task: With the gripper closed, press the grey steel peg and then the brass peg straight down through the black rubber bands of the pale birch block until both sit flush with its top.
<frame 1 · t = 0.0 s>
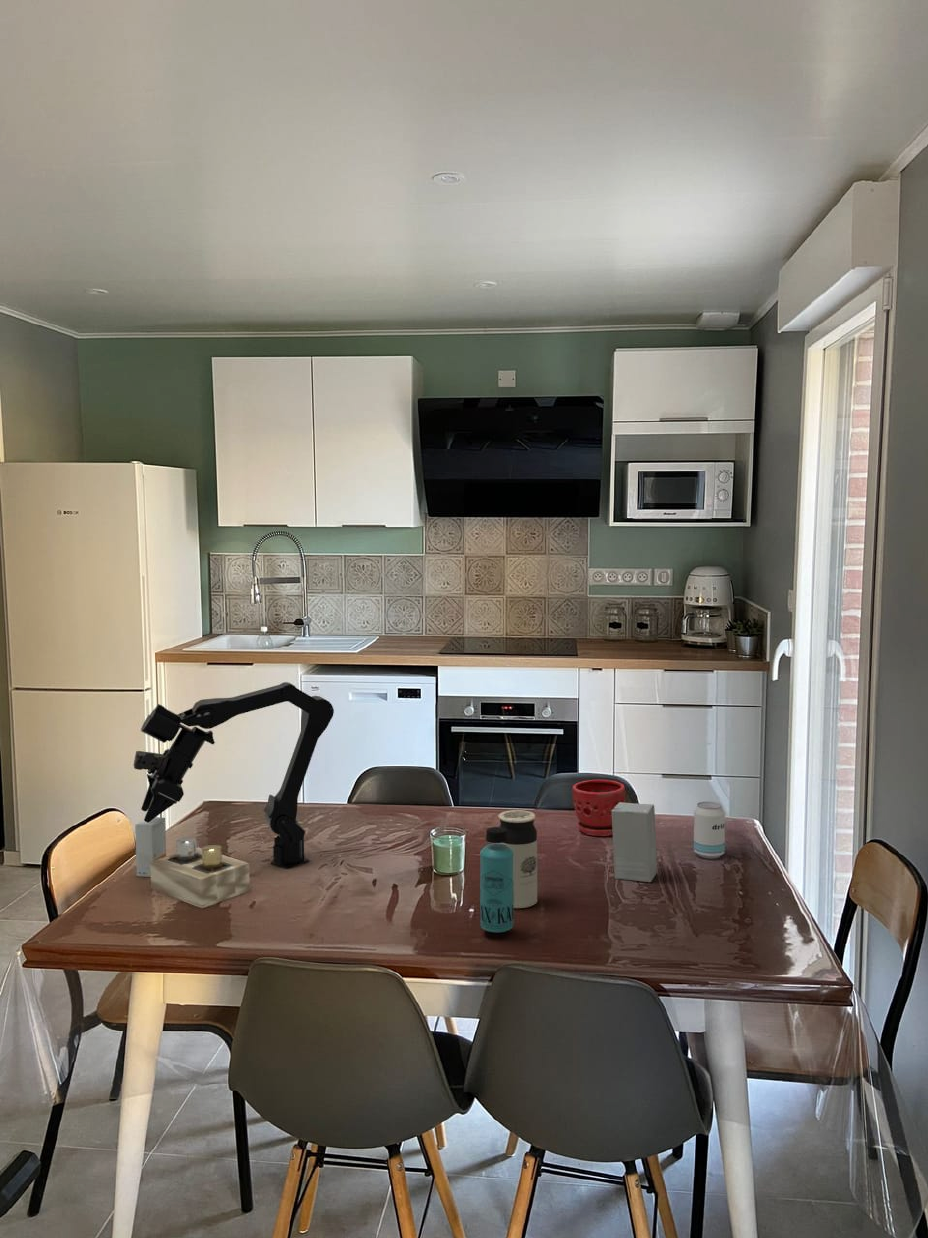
hand: (144, 816, 200), 15 cm above the table, tool tilted 35°, fingers open, 9 cm apart
beverage can: (709, 856, 215), on the table
travel mug: (517, 903, 188), on the table
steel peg: (186, 851, 199), point 7 cm above the table, slide at 4.0 cm
skincare box: (634, 878, 201), on the table
plant pot: (598, 832, 234), on the table
brass peg: (212, 859, 193), point 7 cm above the table, slide at 4.0 cm
beverage bottle: (497, 934, 172), on the table
collar block: (200, 890, 197), on the table
skincare box 2: (152, 873, 208), on the table
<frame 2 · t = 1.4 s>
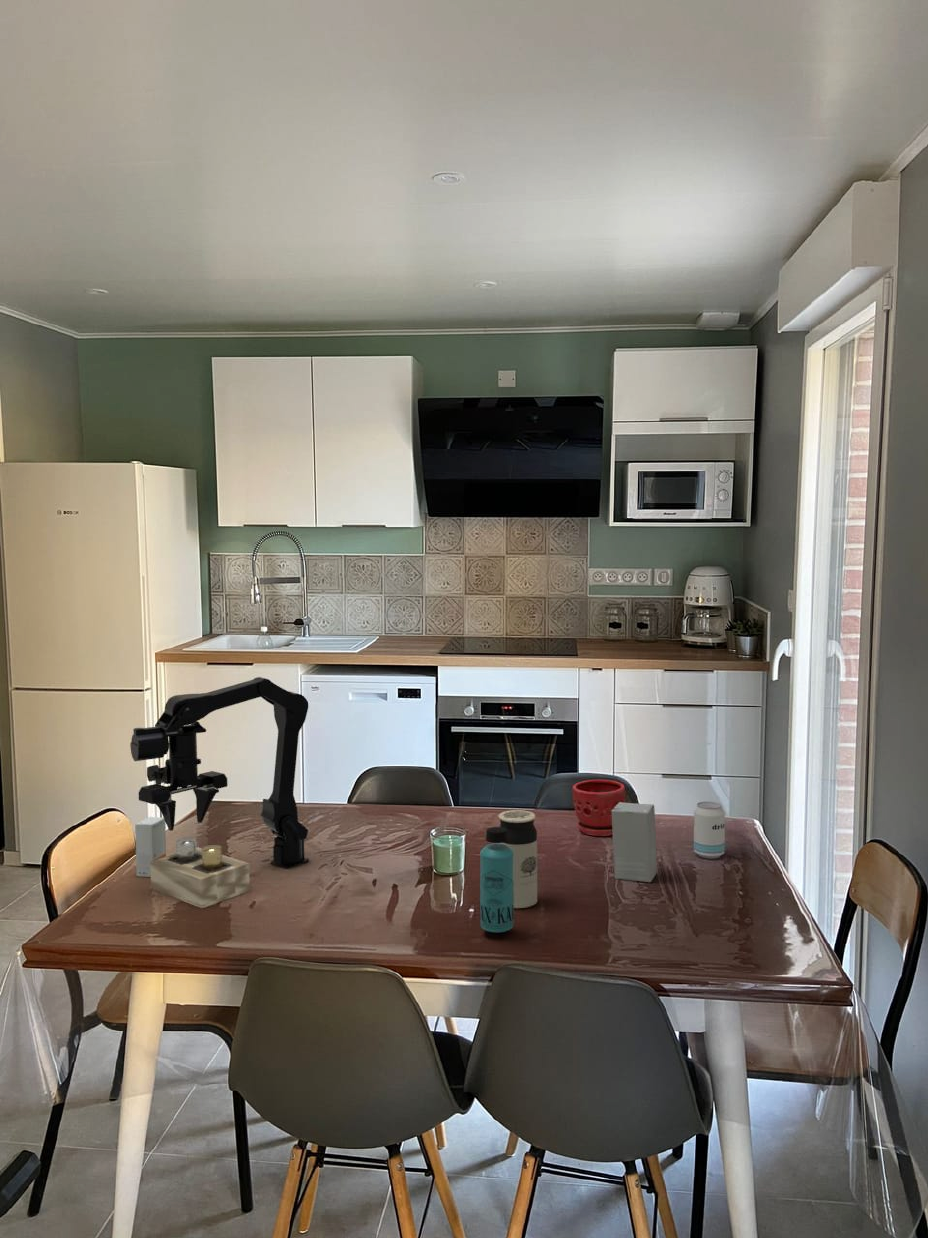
hand: (185, 826, 199), 13 cm above the table, tool pointing down, fingers open, 7 cm apart
nothing on the table moved.
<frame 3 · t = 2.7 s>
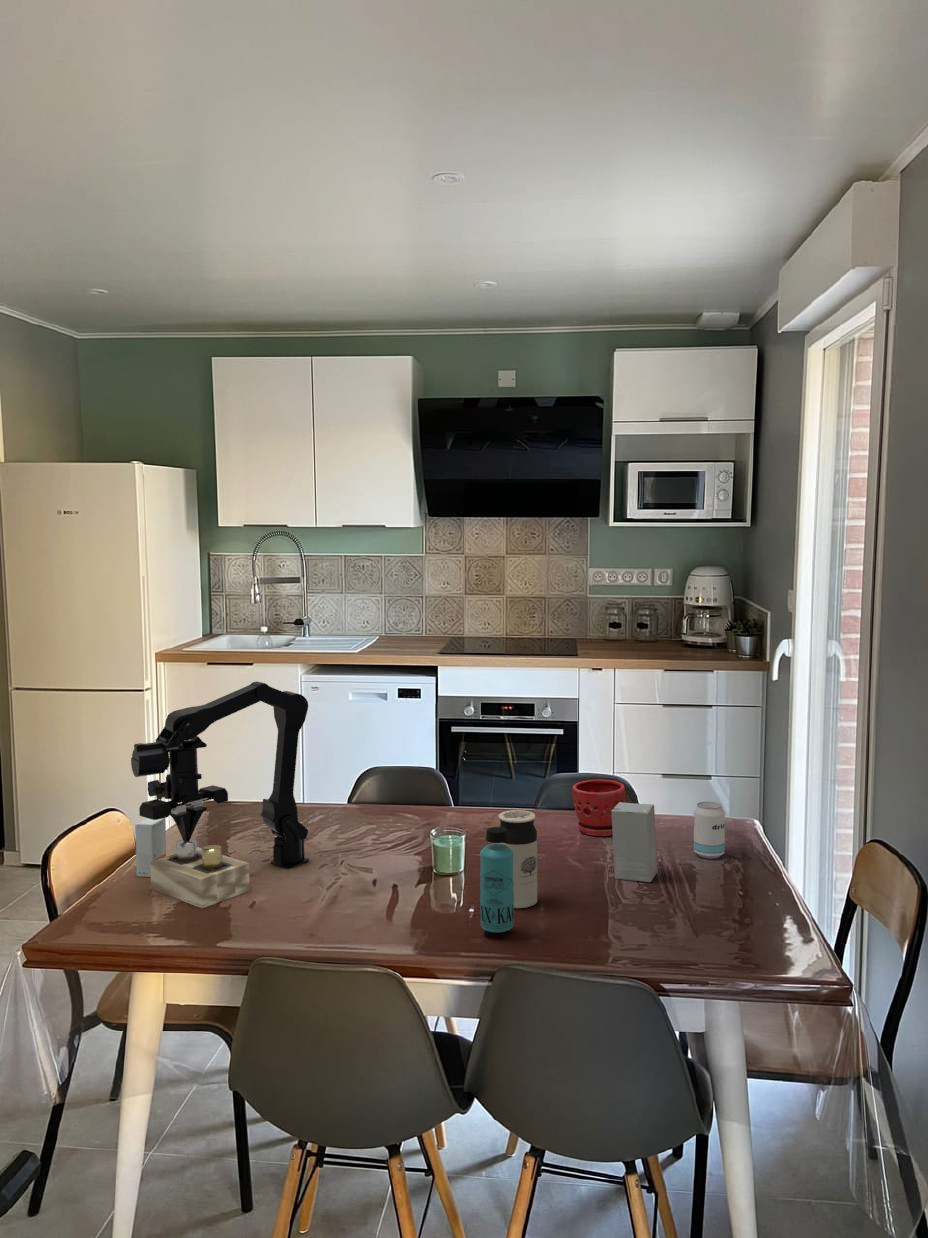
hand: (186, 841, 199), 10 cm above the table, tool pointing down, fingers closed, pressing on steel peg
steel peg: (186, 852, 199), point 7 cm above the table, slide at 3.8 cm, touching gripper
everything else where it was.
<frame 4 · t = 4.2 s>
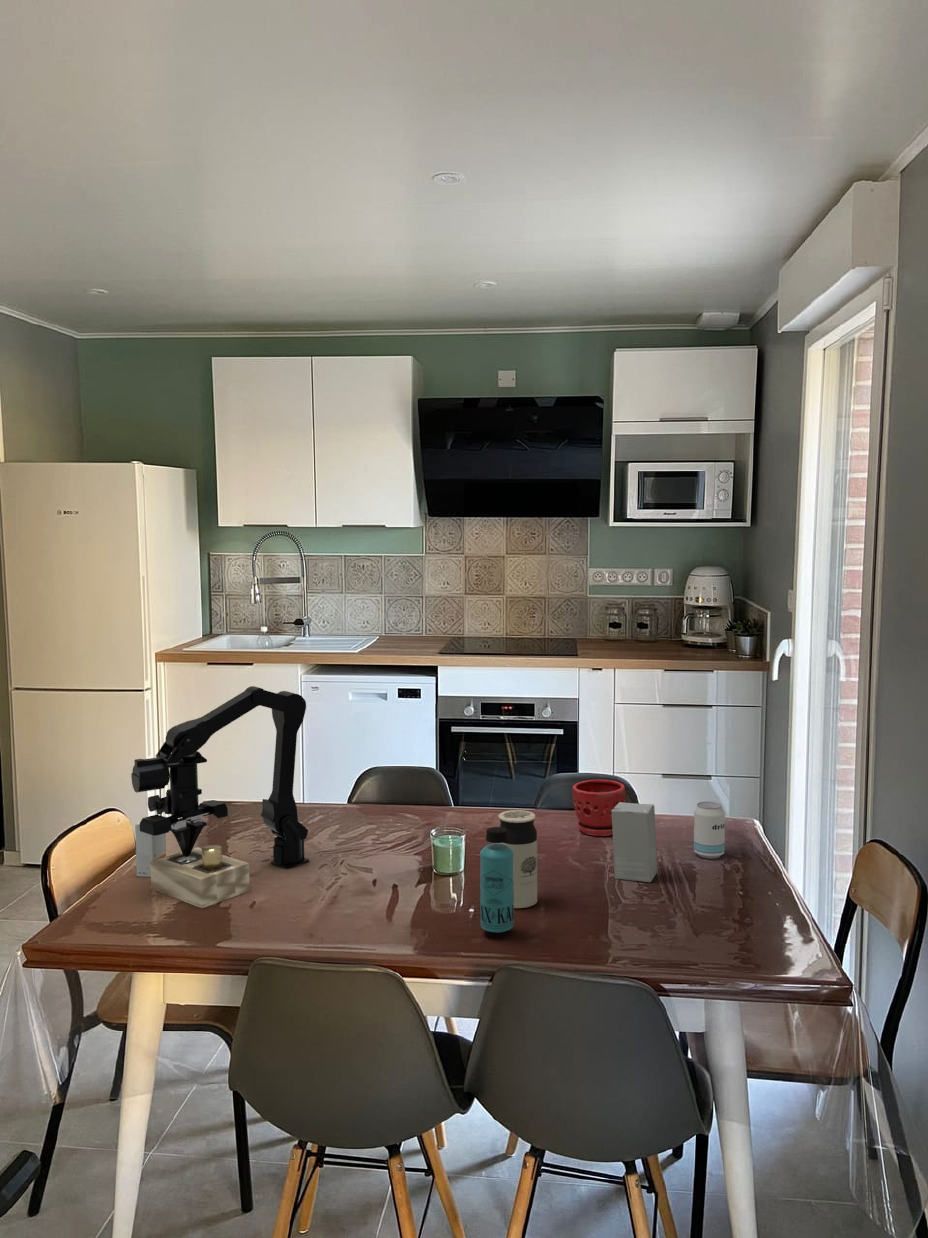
hand: (186, 856, 199), 6 cm above the table, tool pointing down, fingers closed
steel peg: (187, 870, 199), point 3 cm above the table, slide at -0.1 cm
everything else where it was.
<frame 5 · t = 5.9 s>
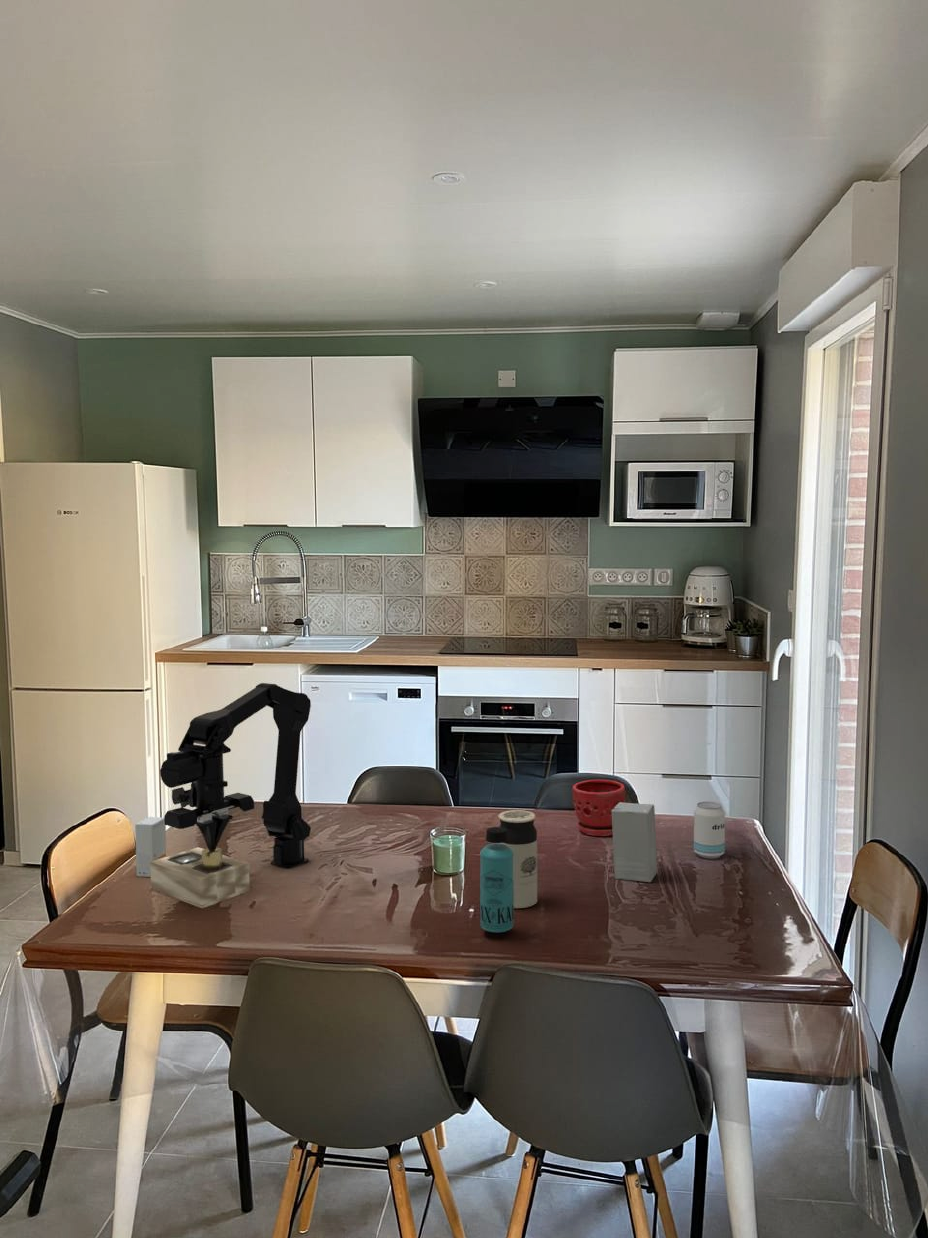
hand: (211, 850, 193), 9 cm above the table, tool pointing down, fingers closed, pressing on brass peg
brass peg: (212, 862, 193), point 7 cm above the table, slide at 3.5 cm, touching gripper
everything else where it was.
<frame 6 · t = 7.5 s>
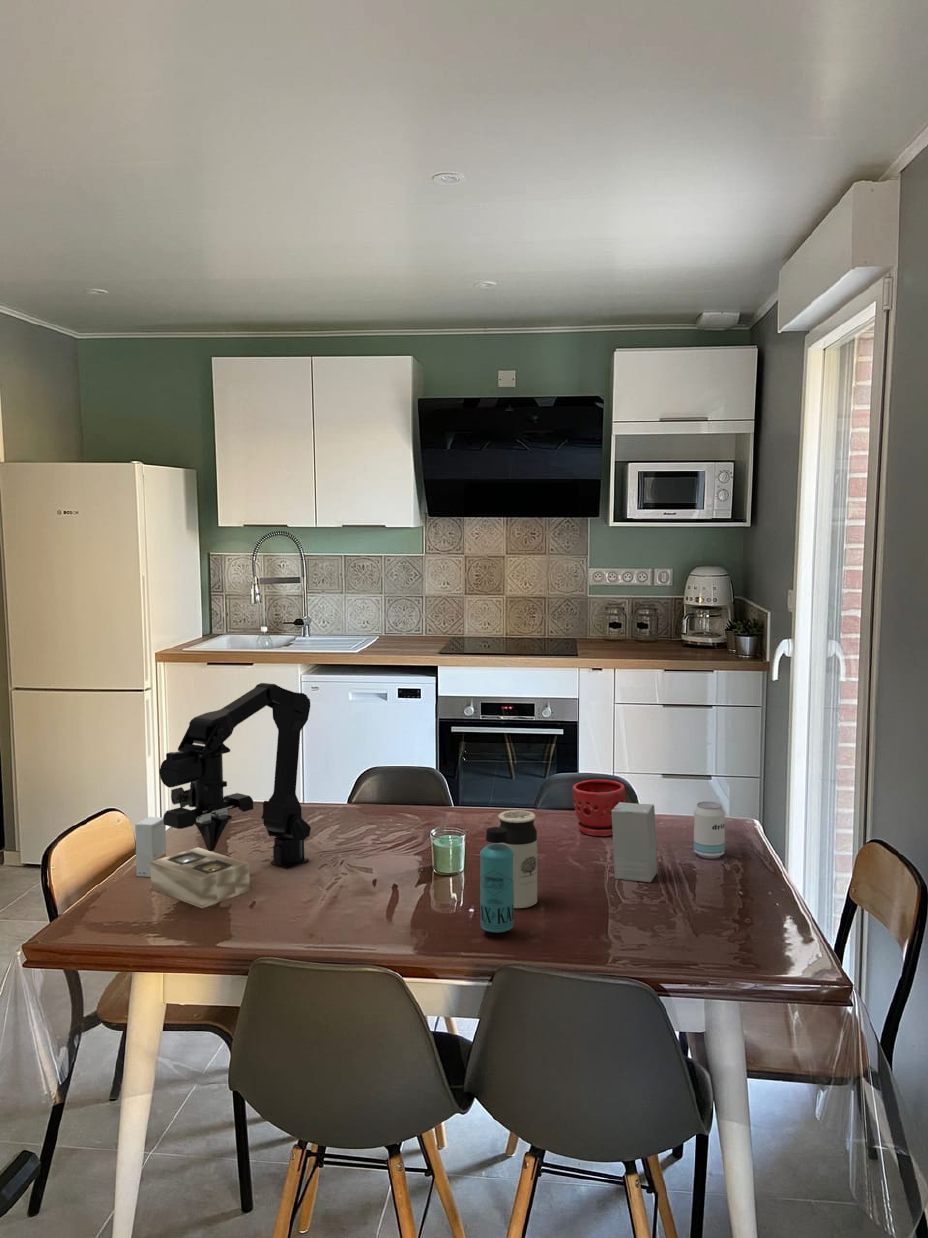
hand: (210, 850, 193), 10 cm above the table, tool pointing down, fingers closed
brass peg: (212, 879, 194), point 3 cm above the table, slide at -0.1 cm
everything else where it was.
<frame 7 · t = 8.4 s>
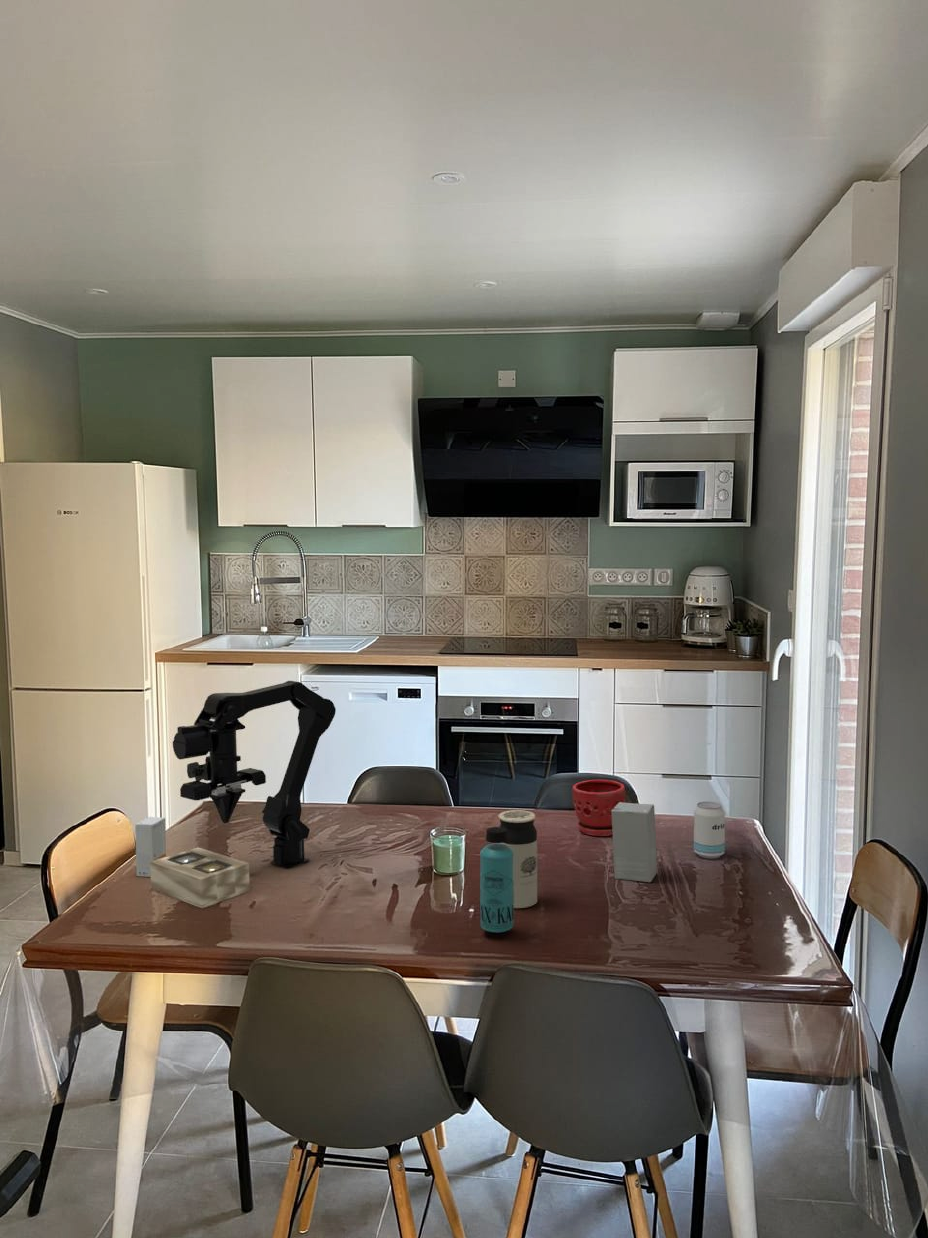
hand: (225, 822, 201), 13 cm above the table, tool pointing down, fingers closed
nothing on the table moved.
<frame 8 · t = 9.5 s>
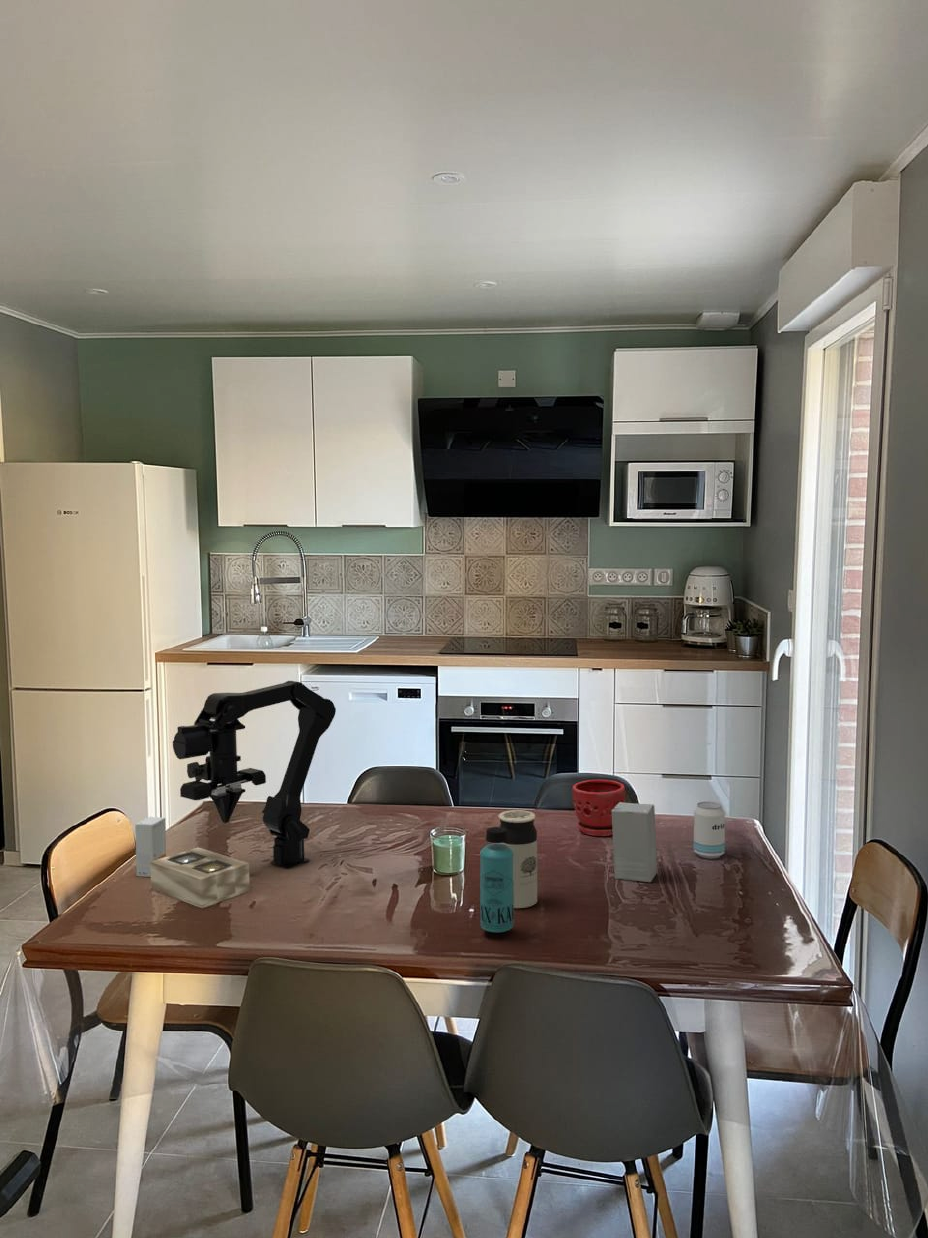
hand: (225, 822, 201), 13 cm above the table, tool pointing down, fingers closed
nothing on the table moved.
at the end: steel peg slide at -0.1 cm; brass peg slide at -0.1 cm; skincare box 2 moved 0.2 cm from its start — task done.
